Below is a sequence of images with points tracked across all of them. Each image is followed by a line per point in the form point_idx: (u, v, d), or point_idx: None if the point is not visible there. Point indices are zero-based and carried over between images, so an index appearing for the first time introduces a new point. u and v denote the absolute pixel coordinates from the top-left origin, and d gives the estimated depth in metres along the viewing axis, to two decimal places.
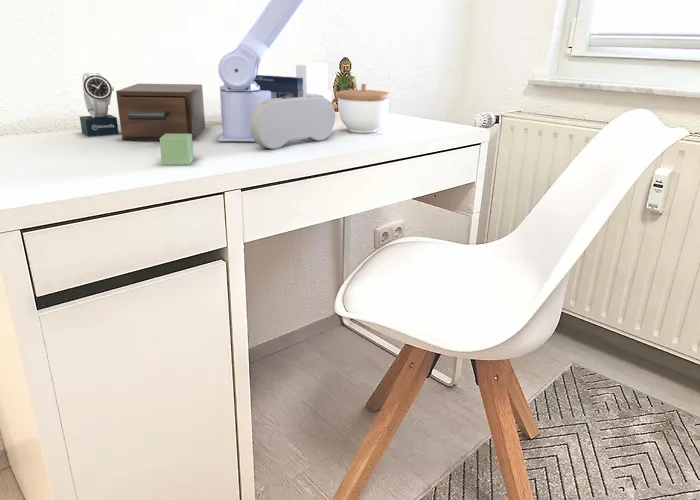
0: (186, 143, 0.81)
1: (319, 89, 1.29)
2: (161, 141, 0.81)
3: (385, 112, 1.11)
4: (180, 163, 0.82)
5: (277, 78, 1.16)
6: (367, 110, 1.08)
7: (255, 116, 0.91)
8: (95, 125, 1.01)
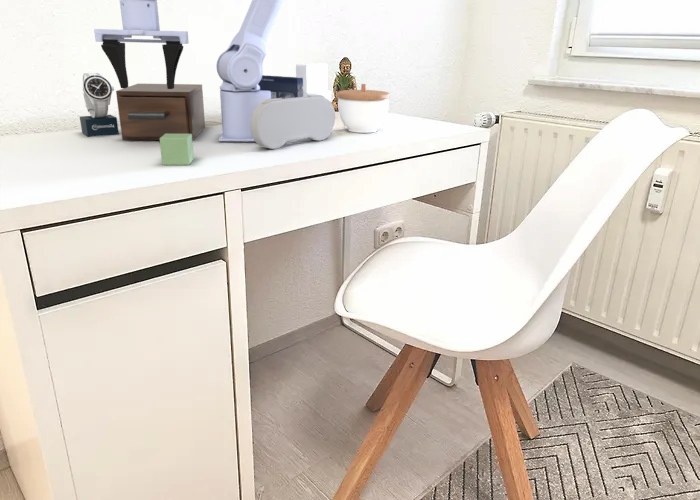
0: (186, 143, 0.81)
1: (319, 89, 1.29)
2: (161, 141, 0.81)
3: (385, 112, 1.11)
4: (180, 163, 0.82)
5: (277, 78, 1.16)
6: (367, 110, 1.08)
7: (255, 116, 0.91)
8: (95, 125, 1.01)
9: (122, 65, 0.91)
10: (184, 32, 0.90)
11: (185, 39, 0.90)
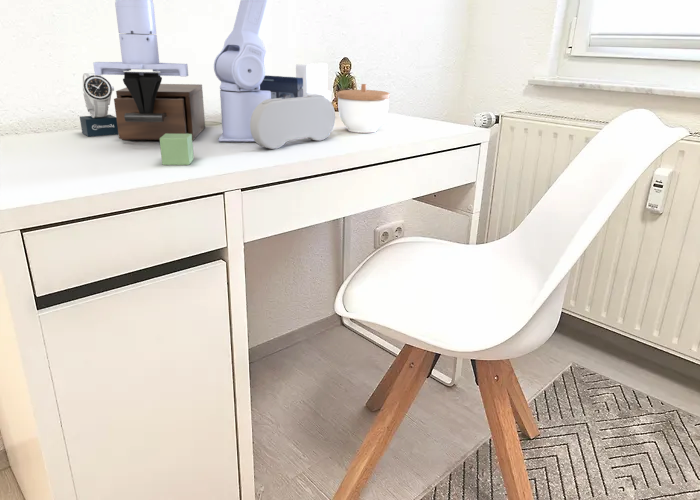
0: (186, 143, 0.81)
1: (319, 89, 1.29)
2: (161, 141, 0.81)
3: (385, 112, 1.11)
4: (180, 163, 0.82)
5: (277, 78, 1.16)
6: (367, 110, 1.08)
7: (255, 116, 0.91)
8: (95, 125, 1.01)
9: None
10: (184, 65, 0.89)
11: (185, 72, 0.90)
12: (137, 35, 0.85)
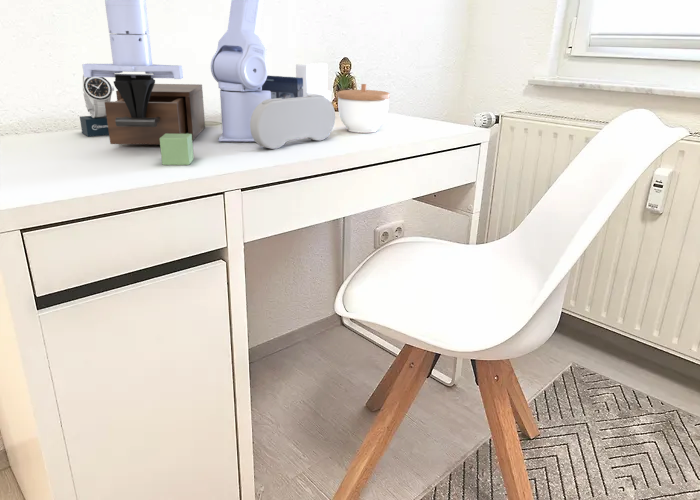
0: (186, 143, 0.81)
1: (319, 89, 1.29)
2: (161, 141, 0.81)
3: (385, 112, 1.11)
4: (180, 163, 0.82)
5: (277, 78, 1.16)
6: (367, 110, 1.08)
7: (255, 116, 0.91)
8: (95, 125, 1.01)
9: (135, 101, 0.87)
10: (178, 67, 0.85)
11: (179, 74, 0.85)
12: (128, 35, 0.81)
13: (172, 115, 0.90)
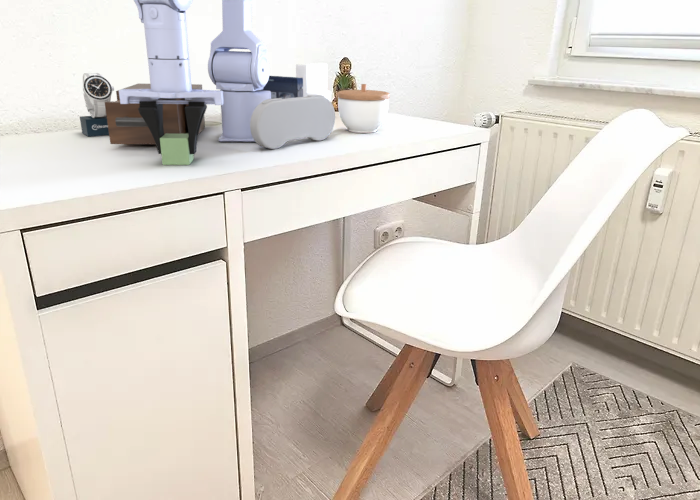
0: (186, 143, 0.81)
1: (319, 89, 1.29)
2: (161, 141, 0.81)
3: (385, 112, 1.11)
4: (180, 163, 0.82)
5: (277, 78, 1.16)
6: (367, 110, 1.08)
7: (255, 116, 0.91)
8: (95, 125, 1.01)
9: (160, 129, 0.82)
10: (219, 93, 0.80)
11: (220, 100, 0.80)
12: (169, 60, 0.76)
13: (172, 115, 0.90)
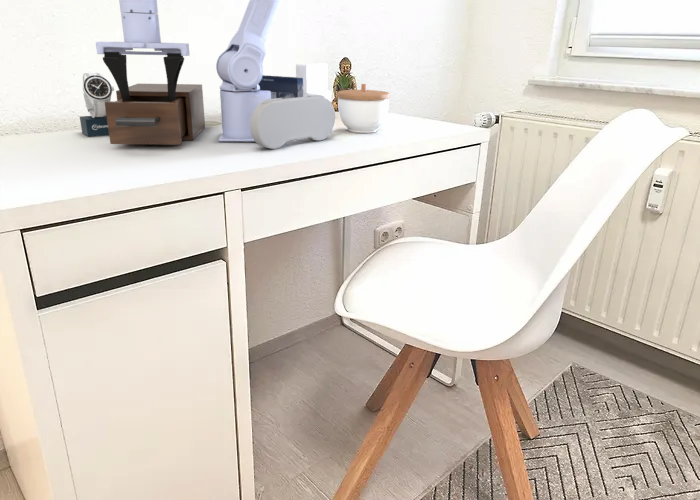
0: None
1: (319, 89, 1.29)
2: None
3: (385, 112, 1.11)
4: None
5: (277, 78, 1.16)
6: (367, 110, 1.08)
7: (255, 116, 0.91)
8: (95, 125, 1.01)
9: (123, 77, 0.92)
10: (185, 44, 0.90)
11: (186, 51, 0.91)
12: (139, 14, 0.86)
13: (172, 115, 0.90)
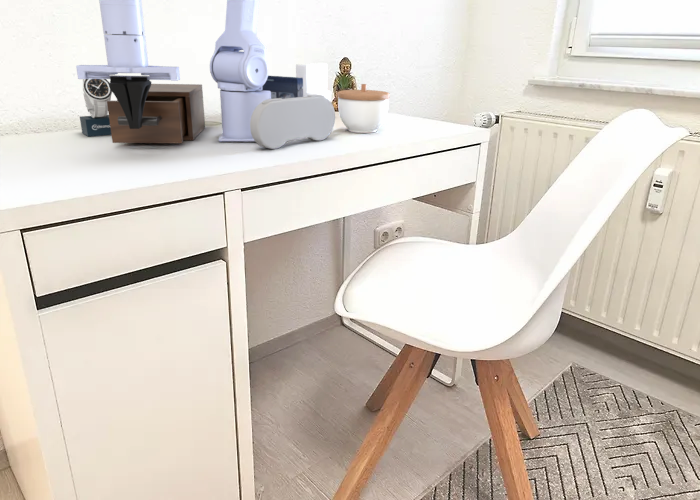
0: None
1: (319, 89, 1.29)
2: None
3: (385, 112, 1.11)
4: None
5: (277, 78, 1.16)
6: (367, 110, 1.08)
7: (255, 116, 0.91)
8: (95, 125, 1.01)
9: (131, 104, 0.84)
10: (175, 68, 0.82)
11: (176, 76, 0.83)
12: (123, 36, 0.78)
13: (173, 114, 0.91)
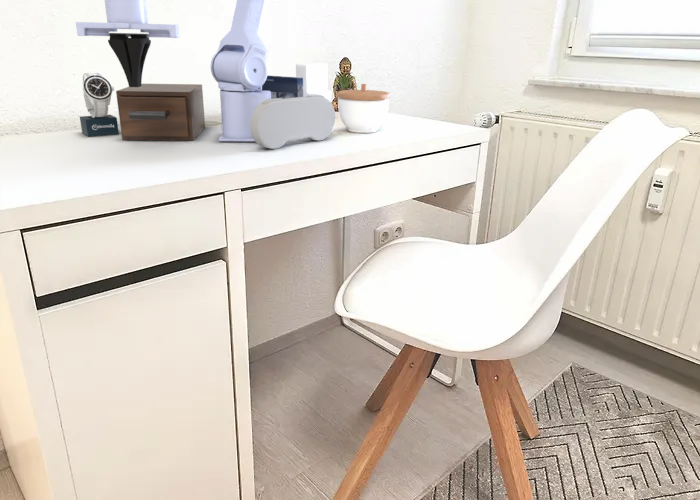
0: None
1: (319, 89, 1.29)
2: None
3: (385, 112, 1.11)
4: None
5: (277, 78, 1.16)
6: (367, 110, 1.08)
7: (255, 116, 0.91)
8: (95, 125, 1.01)
9: (130, 62, 0.84)
10: (174, 25, 0.82)
11: (175, 33, 0.83)
12: None
13: (181, 109, 0.97)
